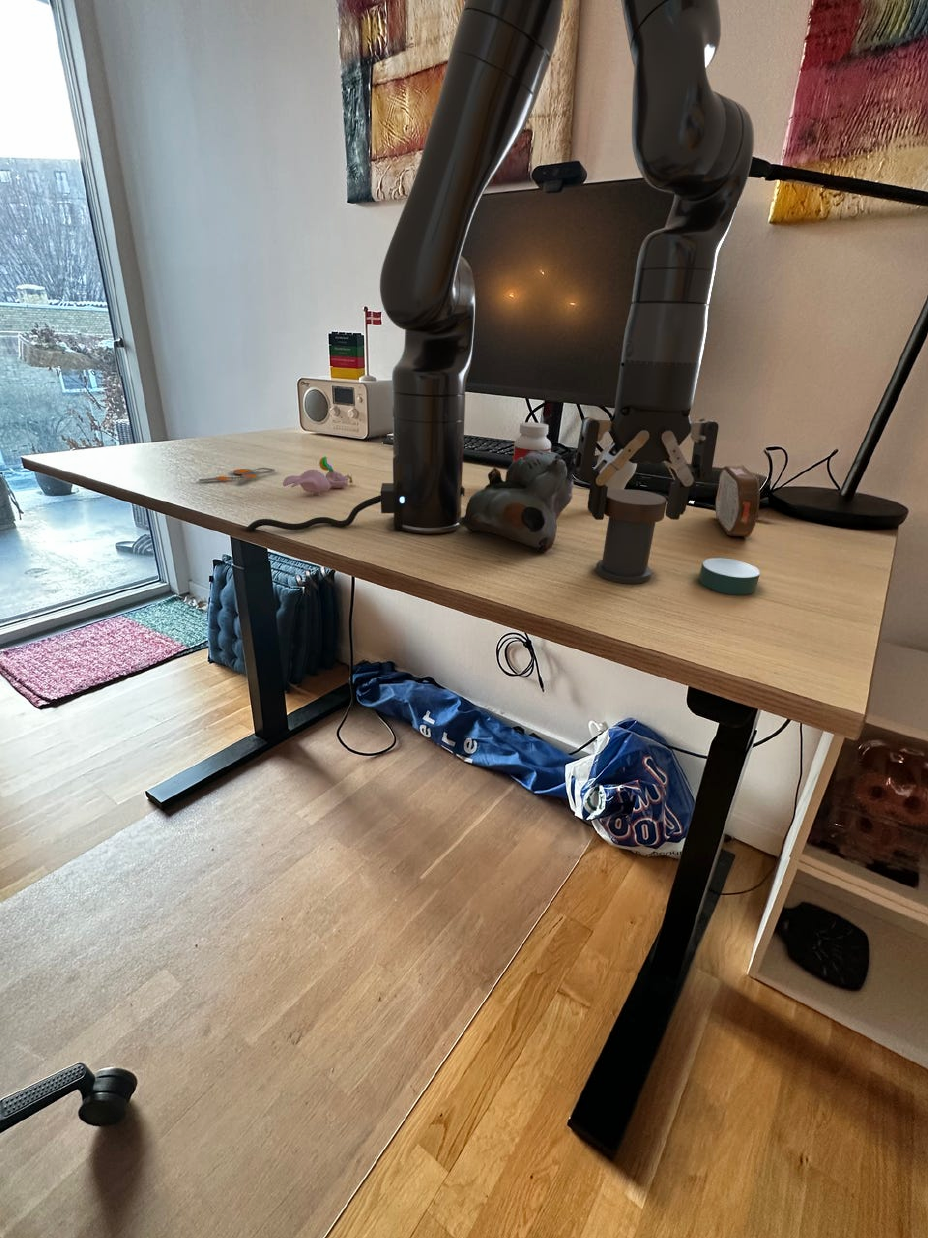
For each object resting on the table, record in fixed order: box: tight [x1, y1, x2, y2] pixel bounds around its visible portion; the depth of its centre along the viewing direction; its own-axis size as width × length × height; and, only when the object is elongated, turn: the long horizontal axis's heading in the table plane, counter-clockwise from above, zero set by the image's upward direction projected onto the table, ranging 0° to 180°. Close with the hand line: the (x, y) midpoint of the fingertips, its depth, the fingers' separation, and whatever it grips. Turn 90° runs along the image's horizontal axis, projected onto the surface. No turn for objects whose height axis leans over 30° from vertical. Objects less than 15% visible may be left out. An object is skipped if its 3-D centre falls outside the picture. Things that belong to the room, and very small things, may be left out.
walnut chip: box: [604, 488, 668, 523], centre depth 63 cm, size 6×6×2 cm
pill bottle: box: [512, 421, 552, 463], centre depth 98 cm, size 6×6×11 cm
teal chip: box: [698, 557, 761, 596], centre depth 65 cm, size 6×6×2 cm
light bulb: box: [596, 445, 638, 492], centre depth 89 cm, size 6×6×10 cm
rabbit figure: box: [282, 456, 354, 496], centre depth 92 cm, size 6×6×15 cm
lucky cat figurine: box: [458, 450, 576, 553], centre depth 74 cm, size 15×12×14 cm
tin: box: [714, 464, 761, 538], centre depth 83 cm, size 15×3×8 cm, turn 168°
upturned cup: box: [595, 517, 656, 585], centre depth 65 cm, size 6×6×7 cm
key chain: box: [198, 467, 276, 484], centre depth 101 cm, size 13×7×1 cm, turn 156°
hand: (634, 517), depth 64 cm, fingers open, 8 cm apart
